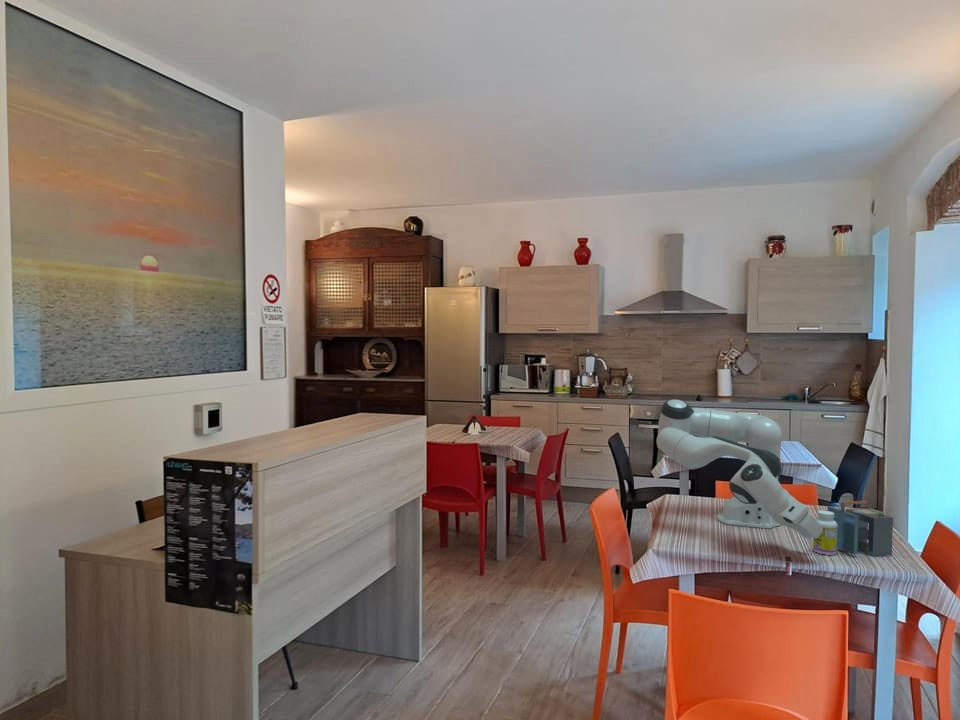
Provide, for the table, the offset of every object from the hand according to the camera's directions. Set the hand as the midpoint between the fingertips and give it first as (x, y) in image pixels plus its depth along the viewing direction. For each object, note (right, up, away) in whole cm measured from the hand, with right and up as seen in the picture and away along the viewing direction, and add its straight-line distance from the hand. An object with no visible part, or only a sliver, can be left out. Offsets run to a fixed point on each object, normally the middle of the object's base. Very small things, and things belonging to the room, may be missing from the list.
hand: (808, 536), depth 212 cm
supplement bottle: (+6, -6, +2) cm, 8 cm away
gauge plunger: (+16, -5, +4) cm, 17 cm away
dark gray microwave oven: (+21, -6, +5) cm, 23 cm away
